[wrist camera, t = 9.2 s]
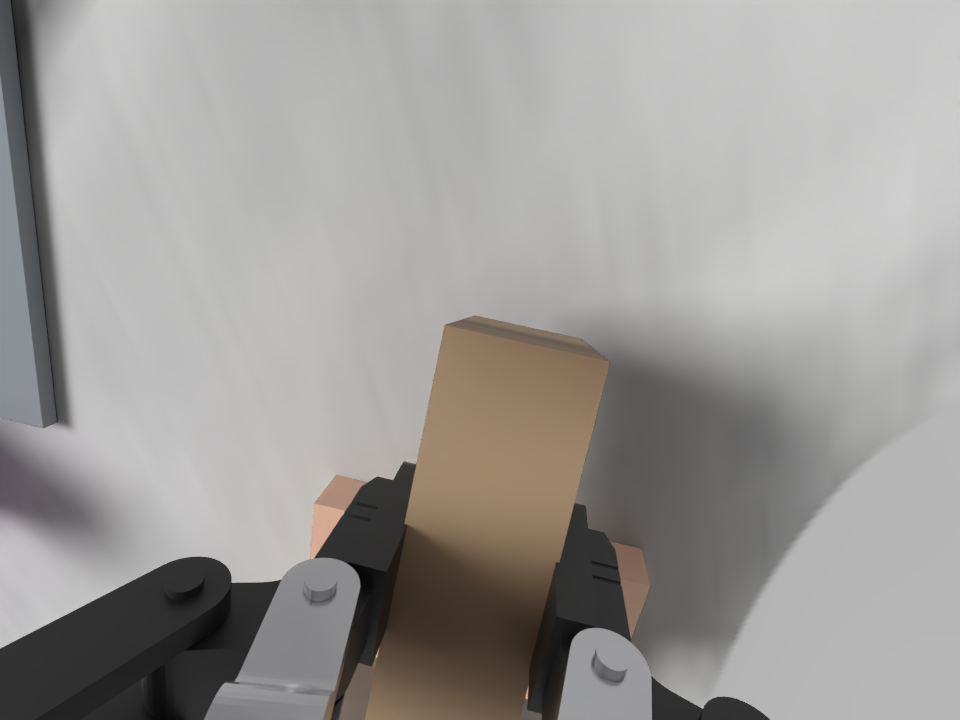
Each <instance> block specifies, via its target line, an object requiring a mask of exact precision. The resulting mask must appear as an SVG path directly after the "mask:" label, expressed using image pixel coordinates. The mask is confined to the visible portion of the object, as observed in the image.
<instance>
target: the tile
mask: <svg viewBox="0 0 960 720" xmlns="http://www.w3.org/2000/svg"><path fill="white" fill-rule="evenodd" d="M366 483H367V482H363V481H359V480H355V479H351V478H346V477H342V476H338V475H336V476H335V477H334V478H333V480H332V481H331V482H330V484H329V485H328V486H327V487H326V489H325V490H324V491H323V493H322V494H321V495H320V497H319V498H318V499H317V500H316V502H315V503H314V513H313V525H312V537H311V550H310V559H314V558H315V556H316V555H317V553H318V552H319V550H320V549H321V547H322V545H323V544H324V542H325V541H326V539H327V538H328V536H329V535H330V533H331V532H332V530H333V529H334V527H335V526H336V524H337V523H338V521H339V520H340V518H341V517H342V515H344V512H345V510H346V509H347V507H348V506H349V504H350V503H352V500H353V498H354V497H355V495H356V494H357V492H358V491H359V489H360V488H361V486H363V485H365V484H366ZM610 542H611V541H610ZM611 544H612V545H613V547H614V548H615V550H616V556H617V561H618V567H619V568H618V571H619V573H620V579H621V586H622V590H623V596H624V602H625V608H626V614H627V619H628V625H629V631H630V637H631V638H632V635H633V632H634V630H635V627H636V624H637V622H638V619H639V616H640V614H641V611H642V608H643V606H644V603H645V600H646V598H647V595H648V592H649V590H650V587H651V584H650V580H649V576H648V572H647V568H646V564H645V560H644V556H643V552H642V549H640V548H636V547H632V546H628V545H624V544H620V543H616V542H611ZM378 651H379V649H378ZM377 656H378V652H377V655H376V658H377ZM525 698H526V699H528V689H527V693H526V697H525Z"/></svg>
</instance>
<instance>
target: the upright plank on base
mask: <svg viewBox="0 0 960 720" xmlns="http://www.w3.org/2000/svg"><path fill="white" fill-rule="evenodd" d="M609 365H610V361H609V360H607V359H606V358H605V357H604V356H602V355H601V354H600V353H599V352H597V351H596V350H595V349H593V348H592V347H591V346H590V345H588V344H587V343H586V342H585V341H583V340H582V339H579V338H575V337H570V336H566V335H561V334H557V333H552V332H547V331H543V330H538V329H534V328H529V327H525V326H520V325H516V324H511V323H506V322H502V321H497V320H493V319H488V318H484V317H479V316H472V317H469V318H466V319H463V320H459V321H456V322H453V323H450V324H446V325H445V326H444V331H443V336H442V341H441V346H440V351H439V356H438V361H437V366H436V370H435V375H434V380H433V385H432V390H431V395H430V400H429V405H428V410H427V415H426V420H425V425H424V430H423V435H422V439H421V444H420V449H419V454H418V459H417V464H416V469H415V474H414V479H413V484H412V489H411V494H410V499H409V504H408V508H407V513H406V518H405V523H404V524H407V529H406V534H405V539H404V544H403V549H402V554H401V559H400V563H399V568H398V573H397V578H396V583H395V588H394V593H393V598H392V603H391V608H390V613H389V618H388V622H387V627H386V631H385V634H384V636H383V639H382V642H381V644H380V647H379V651H378V656H377V658H376V657H375V660H374V662H373V665H372V667H371V666H367V665H363V664H360V663H358V665H357V668H356V670H355V673H354V675H353V677H352V680H351V682H350V684H349V686H348V688H347V690H346V696H345V701H344V706H343V710H342V715H341V719H340V720H542V714H540V713H536V712H533V711H529V710H527V705H528V699H526V698H525V697H526V693H527V689H528V685H529V668H530V664H531V660H532V656H533V652H534V648H535V644H536V640H537V636H538V632H539V628H540V624H541V620H542V616H543V612H544V608H545V604H546V600H547V596H548V592H549V588H550V585H551V581H552V577H553V573H554V569H555V565H556V562H558V563H559V562H560V558H561V554H562V550H563V547H564V543H565V539H566V535H567V531H568V527H569V523H570V519H571V515H572V511H573V507H574V503H575V499H576V495H577V491H578V487H579V483H580V479H581V475H582V471H583V467H584V463H585V459H586V456H587V452H588V448H589V444H590V440H591V436H592V432H593V428H594V424H595V420H596V416H597V412H598V408H599V404H600V400H601V396H602V392H603V388H604V384H605V380H606V376H607V372H608V369H609Z"/></svg>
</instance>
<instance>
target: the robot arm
mask: <svg viewBox="0 0 960 720" xmlns="http://www.w3.org/2000/svg"><path fill="white" fill-rule="evenodd" d="M415 469H416V464H412V463H408V462H403V464H402V465H401V467H400V469H399V471H398V473H397V474H396V476H395V478H394V480H389V479H385V478H381V477H376V478H374V479H373V480H371V481H369V482H368V483H366V484H365V485H363V486H361V488H360V489H359V491H358V492H357V494H356V495H355V497H354V498H353V500H352V503H350V504H349V506H348V507H347V509H346V510H345V512H344V515H342V517H341V518H340V520H339V521H338V523H337V524H336V526H335V527H334V529H333V530H332V532H331V533H330V535H329V536H328V538H327V539H326V541H325V542H324V544H323V545H322V547H321V549H320V550H319V552H318V553H317V555H316V556H315V558H314V559H310V560H306V561H303V562H301V563H299V564H297V565H296V566H294V567H292V568H291V569H290V570H289V571H288V572H287V573H286V574H285V575H284V576H283V578H282V580H279V581H273V582H262V583H231V574H230V571H229V569H228V568H227V567H226V566H225V565H224V564H223V563H221V562H220V561H218V560H215V559H212V558H208V557H188V558H183V559H178V560H175V561H172V562H169V563H167V564H165V565H163V566H161V567H159V568H157V569H155V570H153V571H151V572H149V573H147V574H145V575H143V576H141V577H139V578H137V579H135V580H133V581H131V582H129V583H127V584H126V585H124V586H122V587H120V588H118V589H116V590H114V591H112V592H110V593H108V594H106V595H104V596H102V597H100V598H98V599H96V600H94V601H92V602H90V603H88V604H87V605H85V606H83V607H81V608H79V609H77V610H75V611H73V612H71V613H69V614H67V615H65V616H63V617H61V618H59V619H57V620H55V621H53V622H51V623H49V624H48V625H46V626H44V627H42V628H40V629H38V630H36V631H34V632H32V633H30V634H28V635H26V636H24V637H22V638H20V639H18V640H16V641H14V642H12V643H10V644H9V645H7V646H5V647H3V648H1V649H0V720H340V719H341V715H342V710H343V706H344V701H345V696H346V690H347V688H348V686H349V684H350V682H351V680H352V677H353V675H354V673H355V670H356V668H357V665H358V663H360V664H363V665H367V666H371V667H372V665H373V662H374V660H375V657H376V655H377V652H378V649H379V647H380V644H381V642H382V639H383V636H384V634H385V631H386V627H387V622H388V618H389V613H390V608H391V603H392V598H393V593H394V588H395V583H396V578H397V573H398V568H399V563H400V559H401V554H402V549H403V544H404V539H405V534H406V529H407V524H404V523H405V518H406V513H407V508H408V504H409V499H410V494H411V489H412V484H413V479H414V474H415ZM618 568H619V567H618V561H617V556H616V550H615V548H614V547H613V545H612V544H611V542H610V541H609V539H608V538H607V536H606V535H605V533H603V532H599V531H595V530H591V529H588V524H587V514H586V507H585V506H584V505H580V504H576V503H574V507H573V511H572V515H571V519H570V523H569V527H568V531H567V535H566V539H565V543H564V547H563V550H562V554H561V558H560V562H559V563H558V562H556V565H555V569H554V573H553V577H552V581H551V585H550V588H549V592H548V596H547V600H546V604H545V608H544V612H543V616H542V620H541V624H540V628H539V632H538V636H537V640H536V644H535V648H534V652H533V656H532V660H531V664H530V668H529V685H528V705H527V710H529V711H533V712H536V713H540V714H542V720H770V719H769V718H768V717H766V716H765V715H764V714H763V713H761V712H760V711H758V710H757V709H756V708H754V707H752V706H751V705H749V704H747V703H745V702H743V701H740V700H738V699H734V698H730V697H717V698H713V699H711V700H710V701H708V702H707V703H706V705H705V706H704V708H703V709H702V708H700V707H698V706H696V705H694V704H693V703H691V702H689V701H687V700H685V699H684V698H682V697H680V696H678V695H677V694H675V693H673V692H671V691H670V690H668V689H667V688H665V687H664V686H662V685H661V684H660V683H658V682H657V681H656V680H655V679H654V678H653V677H652V676H651V672H650V669H649V666H648V664H647V662H646V660H645V658H644V657H643V655H642V654H641V652H640V651H639V650H638V649H637V648H636V647H635V646H634V645H633V644H632V642H631V637H630V631H629V625H628V619H627V614H626V608H625V602H624V596H623V590H622V586H621V579H620V573H619V571H618Z"/></svg>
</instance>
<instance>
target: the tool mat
mask: <svg viewBox="0 0 960 720" xmlns="http://www.w3.org/2000/svg"><path fill="white" fill-rule="evenodd" d="M0 418H3V419H7V420H11V421H15V422H19V423H23V424H27V425H31V426H35V427H39V428H45V427H47V426H50V425H52V424H54V423H56V422H57V418H56V409H55V400H54V391H53V382H52V373H51V363H50V354H49V345H48V336H47V327H46V318H45V309H44V300H43V291H42V281H41V272H40V263H39V254H38V245H37V236H36V227H35V218H34V209H33V199H32V190H31V181H30V172H29V163H28V154H27V145H26V136H25V126H24V117H23V108H22V99H21V90H20V81H19V72H18V63H17V54H16V44H15V35H14V26H13V17H12V8H11V0H0Z"/></svg>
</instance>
